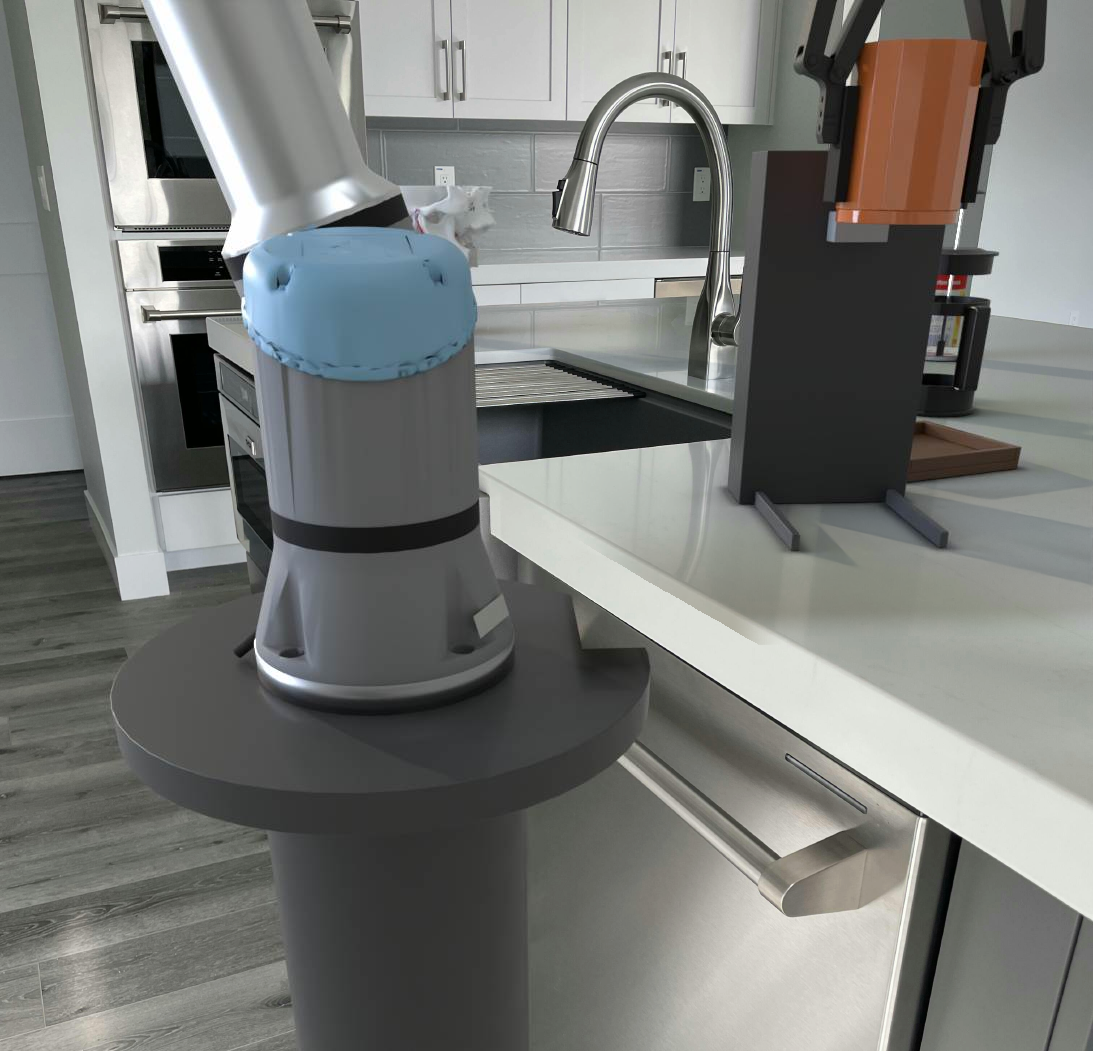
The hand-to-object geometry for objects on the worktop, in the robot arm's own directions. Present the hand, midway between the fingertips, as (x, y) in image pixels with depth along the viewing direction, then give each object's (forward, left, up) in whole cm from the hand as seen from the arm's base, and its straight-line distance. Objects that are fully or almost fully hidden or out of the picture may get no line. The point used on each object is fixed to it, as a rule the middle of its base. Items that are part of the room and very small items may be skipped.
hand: (898, 201), depth 71 cm
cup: (0, 0, -1) cm, 1 cm away
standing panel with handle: (0, +6, -23) cm, 24 cm away
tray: (+13, +24, -23) cm, 36 cm away
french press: (+24, +48, -23) cm, 59 cm away
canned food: (+38, +88, -23) cm, 99 cm away
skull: (-38, +120, -23) cm, 128 cm away
